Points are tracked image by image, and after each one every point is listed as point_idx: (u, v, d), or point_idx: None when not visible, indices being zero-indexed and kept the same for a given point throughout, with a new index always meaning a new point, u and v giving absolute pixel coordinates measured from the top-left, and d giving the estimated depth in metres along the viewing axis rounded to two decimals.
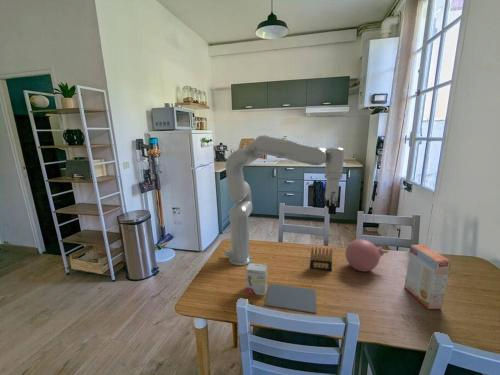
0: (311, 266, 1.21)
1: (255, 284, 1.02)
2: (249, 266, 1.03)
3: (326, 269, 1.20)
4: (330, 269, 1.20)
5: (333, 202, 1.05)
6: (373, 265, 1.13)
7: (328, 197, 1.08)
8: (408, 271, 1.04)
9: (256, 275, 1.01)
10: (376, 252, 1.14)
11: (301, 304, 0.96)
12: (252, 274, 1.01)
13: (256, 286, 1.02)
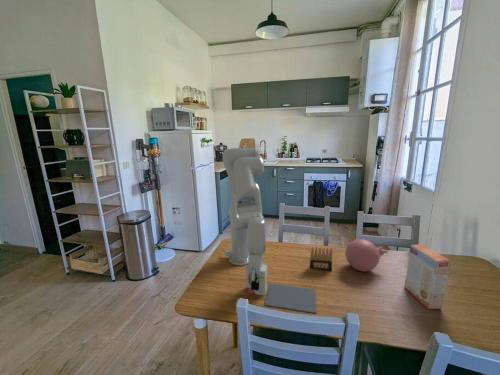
0: (311, 266, 1.21)
1: None
2: None
3: (326, 269, 1.20)
4: (330, 269, 1.20)
5: (253, 281, 0.98)
6: (373, 265, 1.13)
7: (249, 273, 0.98)
8: (408, 271, 1.04)
9: None
10: (376, 252, 1.14)
11: (301, 304, 0.96)
12: None
13: None
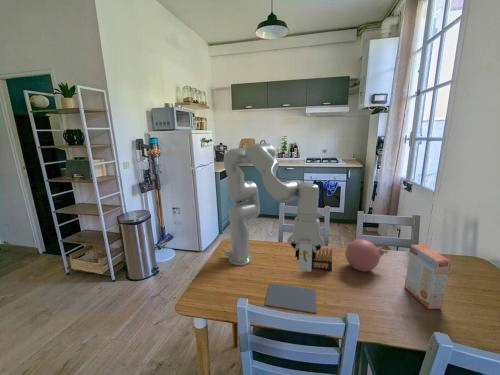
0: None
1: None
2: None
3: (326, 269, 1.20)
4: (330, 269, 1.20)
5: None
6: (373, 265, 1.13)
7: None
8: (408, 271, 1.04)
9: None
10: (376, 252, 1.14)
11: (301, 304, 0.96)
12: None
13: None
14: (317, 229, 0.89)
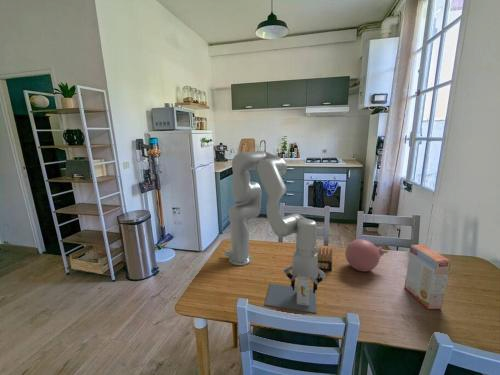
0: None
1: None
2: None
3: (326, 269, 1.20)
4: (330, 269, 1.20)
5: None
6: (373, 265, 1.13)
7: None
8: (408, 271, 1.04)
9: None
10: (376, 252, 1.14)
11: None
12: None
13: None
14: (315, 264, 0.93)
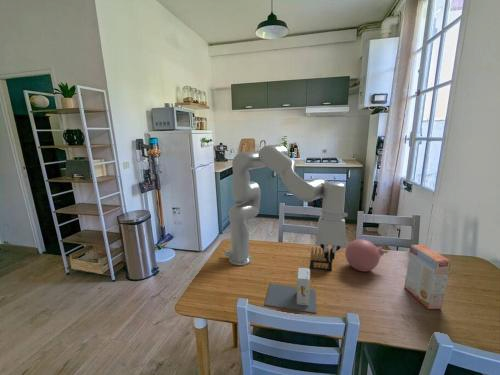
0: (311, 266, 1.21)
1: None
2: (303, 269, 1.00)
3: (326, 269, 1.20)
4: (330, 269, 1.20)
5: None
6: (373, 265, 1.13)
7: None
8: (408, 271, 1.04)
9: None
10: (376, 252, 1.14)
11: None
12: None
13: None
14: (343, 229, 0.87)
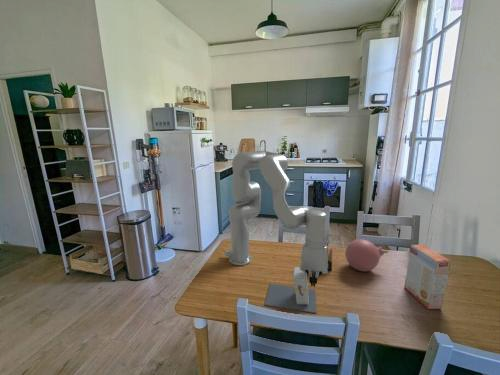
0: None
1: None
2: (299, 268, 1.00)
3: None
4: (330, 269, 1.20)
5: None
6: (373, 265, 1.13)
7: None
8: (408, 271, 1.04)
9: None
10: (376, 252, 1.14)
11: (301, 304, 0.96)
12: None
13: None
14: (325, 256, 0.91)
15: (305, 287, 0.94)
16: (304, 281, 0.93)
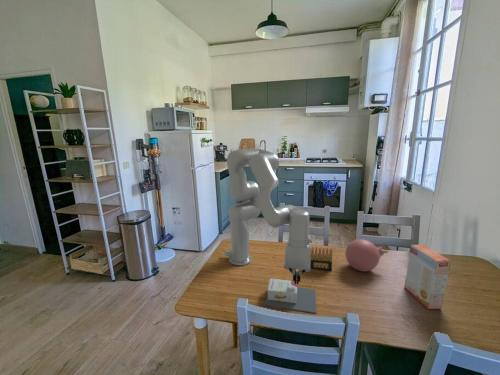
0: (311, 266, 1.21)
1: None
2: None
3: (326, 269, 1.20)
4: (330, 269, 1.20)
5: None
6: (373, 265, 1.13)
7: None
8: (408, 271, 1.04)
9: None
10: (376, 252, 1.14)
11: (301, 304, 0.96)
12: None
13: None
14: (308, 255, 0.93)
15: (277, 292, 0.97)
16: (270, 291, 0.98)
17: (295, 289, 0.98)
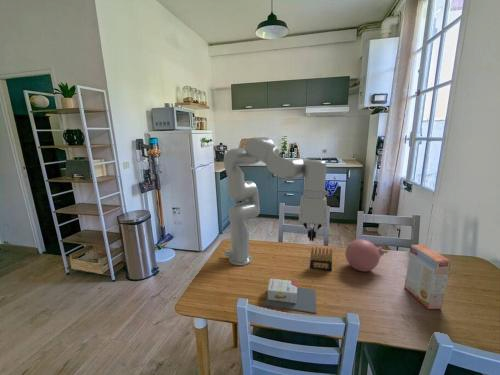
0: (311, 266, 1.21)
1: None
2: None
3: (326, 269, 1.20)
4: (330, 269, 1.20)
5: None
6: (373, 265, 1.13)
7: None
8: (408, 271, 1.04)
9: None
10: (376, 252, 1.14)
11: (301, 304, 0.96)
12: None
13: None
14: (324, 207, 0.87)
15: (277, 292, 0.97)
16: (270, 291, 0.98)
17: (295, 289, 0.98)
